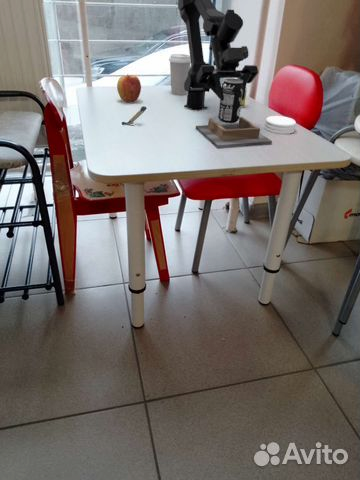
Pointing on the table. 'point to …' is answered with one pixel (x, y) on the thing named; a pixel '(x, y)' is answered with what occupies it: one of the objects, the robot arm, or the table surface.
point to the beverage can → (231, 100)
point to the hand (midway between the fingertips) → (233, 99)
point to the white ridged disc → (280, 124)
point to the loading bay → (233, 134)
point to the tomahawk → (135, 117)
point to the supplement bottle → (244, 99)
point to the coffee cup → (179, 72)
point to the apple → (129, 88)
